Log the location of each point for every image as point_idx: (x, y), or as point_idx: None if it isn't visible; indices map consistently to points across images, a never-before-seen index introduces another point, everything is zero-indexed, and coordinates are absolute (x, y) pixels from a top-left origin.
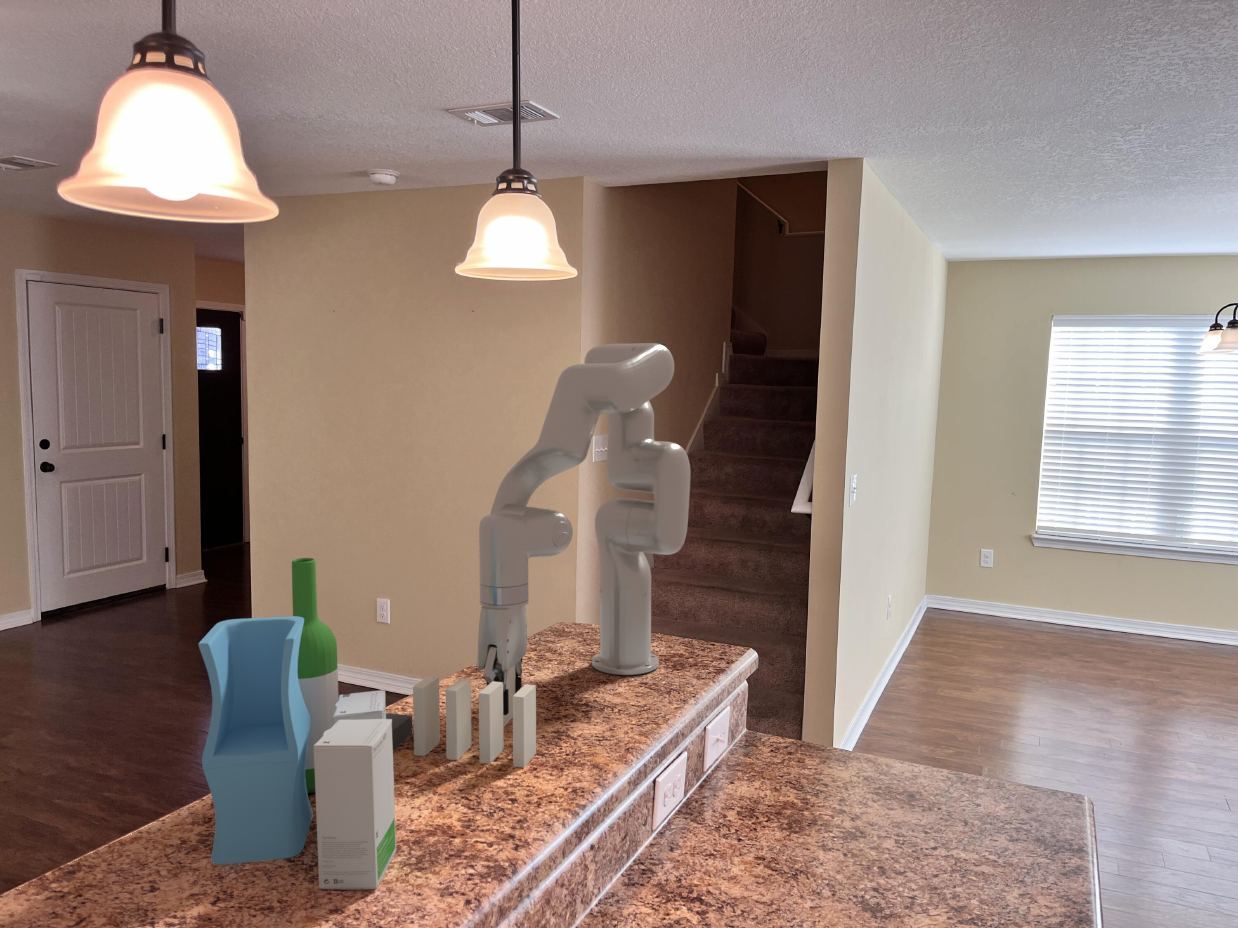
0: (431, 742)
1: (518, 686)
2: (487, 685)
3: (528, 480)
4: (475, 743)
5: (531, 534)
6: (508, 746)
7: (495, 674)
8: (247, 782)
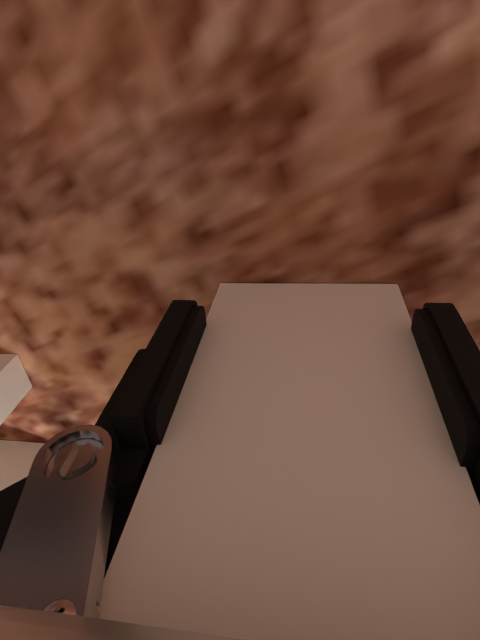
0: None
1: None
2: (37, 465)
3: None
4: (6, 277)
5: None
6: (61, 393)
7: (106, 590)
8: None
